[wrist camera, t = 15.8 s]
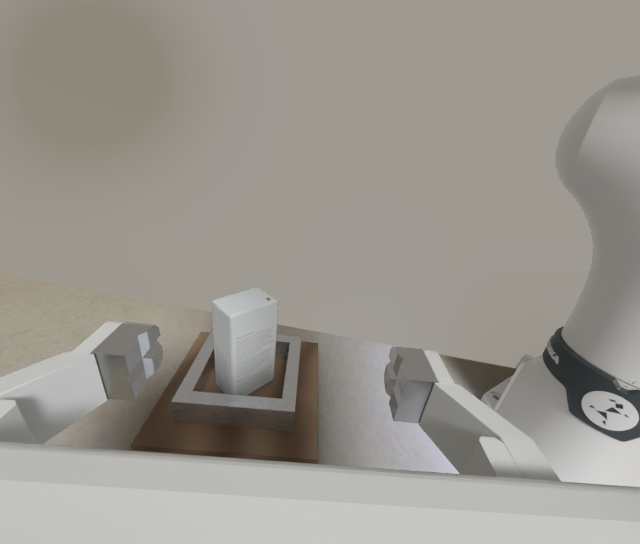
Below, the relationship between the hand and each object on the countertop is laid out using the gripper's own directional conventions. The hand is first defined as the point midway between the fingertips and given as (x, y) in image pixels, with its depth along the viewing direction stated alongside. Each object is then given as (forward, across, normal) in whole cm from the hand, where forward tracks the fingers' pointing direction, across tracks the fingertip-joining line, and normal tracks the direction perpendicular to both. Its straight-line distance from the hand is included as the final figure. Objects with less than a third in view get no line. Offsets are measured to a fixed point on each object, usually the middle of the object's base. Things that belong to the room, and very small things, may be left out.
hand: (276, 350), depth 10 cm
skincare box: (+19, +6, +22) cm, 29 cm away
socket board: (+19, +6, +23) cm, 30 cm away
